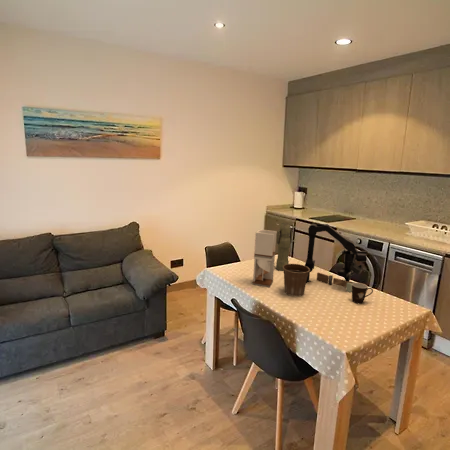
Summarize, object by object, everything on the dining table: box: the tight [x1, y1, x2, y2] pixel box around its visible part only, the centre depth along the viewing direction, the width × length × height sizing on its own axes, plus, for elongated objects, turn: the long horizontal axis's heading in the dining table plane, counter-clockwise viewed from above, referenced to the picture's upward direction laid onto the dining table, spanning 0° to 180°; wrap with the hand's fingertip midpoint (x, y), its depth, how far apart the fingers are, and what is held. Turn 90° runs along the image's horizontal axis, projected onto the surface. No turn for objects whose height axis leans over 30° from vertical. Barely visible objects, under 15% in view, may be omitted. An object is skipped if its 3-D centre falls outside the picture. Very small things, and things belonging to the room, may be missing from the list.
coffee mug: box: [351, 282, 374, 305], centre depth 195 cm, size 12×9×10 cm
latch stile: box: [345, 283, 352, 293], centre depth 210 cm, size 2×3×6 cm, turn 43°
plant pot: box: [283, 263, 310, 297], centre depth 204 cm, size 16×16×16 cm
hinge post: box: [316, 272, 334, 286], centre depth 224 cm, size 2×11×6 cm, turn 43°
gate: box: [332, 277, 355, 288], centre depth 216 cm, size 14×2×4 cm, turn 55°
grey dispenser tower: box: [252, 229, 278, 288], centre depth 215 cm, size 11×11×35 cm
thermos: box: [275, 222, 293, 272], centre depth 245 cm, size 9×12×35 cm
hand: (347, 283), depth 217 cm, fingers closed
